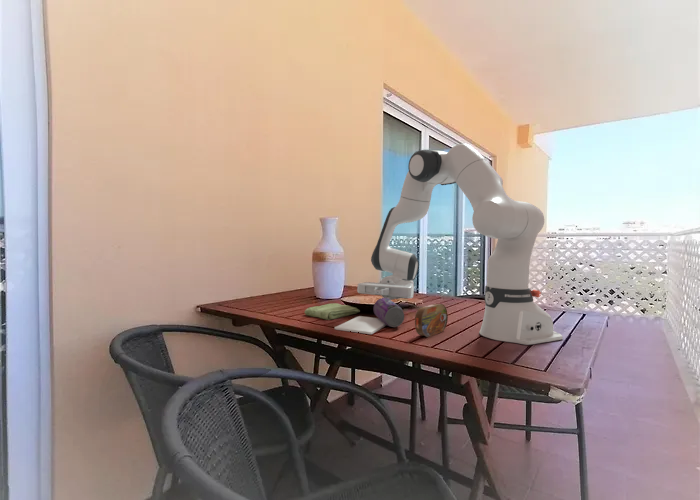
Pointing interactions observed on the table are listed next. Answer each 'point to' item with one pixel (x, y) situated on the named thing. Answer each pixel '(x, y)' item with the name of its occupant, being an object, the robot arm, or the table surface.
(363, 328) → the white rectangular slab
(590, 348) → the table surface
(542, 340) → the robot arm
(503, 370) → the table surface
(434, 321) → the tin
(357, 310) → the washcloth
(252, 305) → the table surface
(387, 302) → the beverage can
